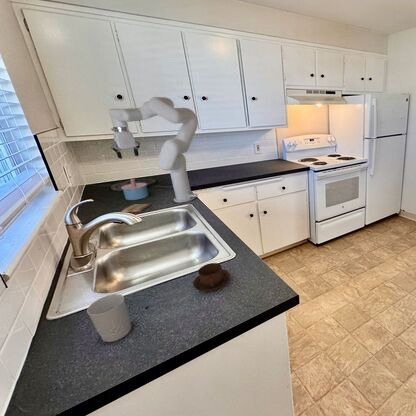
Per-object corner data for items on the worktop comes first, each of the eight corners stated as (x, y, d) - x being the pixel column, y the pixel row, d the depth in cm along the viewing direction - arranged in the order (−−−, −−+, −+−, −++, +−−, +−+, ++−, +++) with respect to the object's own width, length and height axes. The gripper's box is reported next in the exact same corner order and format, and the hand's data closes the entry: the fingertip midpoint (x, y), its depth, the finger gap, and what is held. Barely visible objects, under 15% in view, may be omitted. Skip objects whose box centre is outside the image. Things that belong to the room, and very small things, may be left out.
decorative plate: (119, 180, 222) (160, 177, 230) (120, 182, 223) (160, 179, 230) (102, 191, 195) (148, 187, 203) (103, 193, 196) (149, 189, 203)
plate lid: (148, 183, 193) (146, 175, 191) (145, 188, 181) (143, 180, 179) (124, 186, 188) (121, 178, 185) (119, 191, 175) (116, 183, 173)
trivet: (150, 205, 171) (150, 203, 170) (141, 211, 160) (140, 210, 160) (132, 205, 170) (132, 204, 170) (121, 212, 160) (121, 210, 159)
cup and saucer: (236, 283, 95) (234, 268, 92) (202, 299, 87) (198, 284, 85) (221, 269, 103) (219, 255, 100) (189, 283, 95) (185, 268, 93)
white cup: (91, 342, 72) (78, 313, 68) (117, 320, 79) (106, 292, 75) (117, 345, 71) (105, 316, 67) (140, 323, 78) (131, 295, 74)
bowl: (150, 192, 195) (147, 182, 192) (147, 198, 183) (144, 187, 181) (127, 195, 190) (124, 185, 187) (123, 201, 178) (120, 190, 175)
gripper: (108, 131, 158) (116, 160, 164) (139, 129, 172) (145, 155, 178) (102, 130, 161) (110, 158, 168) (133, 128, 175) (139, 154, 182)
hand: (128, 157), depth 173 cm, fingers open, 9 cm apart
